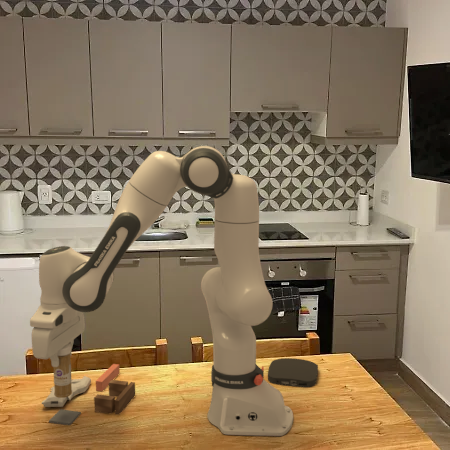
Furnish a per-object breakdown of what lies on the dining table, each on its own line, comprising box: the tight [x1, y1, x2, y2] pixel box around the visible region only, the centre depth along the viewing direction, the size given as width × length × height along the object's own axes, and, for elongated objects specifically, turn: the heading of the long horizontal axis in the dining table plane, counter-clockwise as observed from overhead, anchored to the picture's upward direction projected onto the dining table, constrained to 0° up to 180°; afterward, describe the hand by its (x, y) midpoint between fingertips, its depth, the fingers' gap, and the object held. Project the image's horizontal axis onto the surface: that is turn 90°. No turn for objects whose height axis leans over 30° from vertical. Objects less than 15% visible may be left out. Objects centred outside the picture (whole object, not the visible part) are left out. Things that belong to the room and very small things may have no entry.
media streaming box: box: [267, 357, 319, 388], centre depth 177 cm, size 15×15×3 cm
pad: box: [48, 408, 82, 426], centre depth 152 cm, size 6×6×1 cm
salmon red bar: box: [95, 363, 121, 392], centre depth 173 cm, size 2×12×3 cm, turn 166°
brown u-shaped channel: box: [93, 379, 136, 416], centre depth 160 cm, size 7×11×4 cm, turn 166°
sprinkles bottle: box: [53, 344, 73, 398], centre depth 150 cm, size 5×5×14 cm
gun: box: [41, 375, 92, 408], centre depth 164 cm, size 18×3×10 cm
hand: (61, 361), depth 149 cm, fingers closed on sprinkles bottle, 4 cm apart
